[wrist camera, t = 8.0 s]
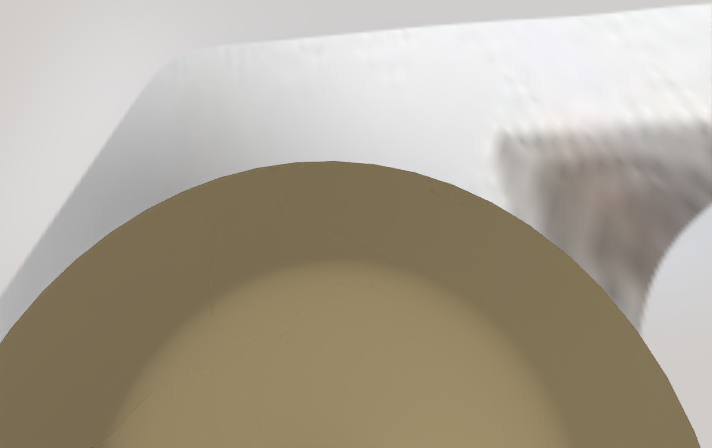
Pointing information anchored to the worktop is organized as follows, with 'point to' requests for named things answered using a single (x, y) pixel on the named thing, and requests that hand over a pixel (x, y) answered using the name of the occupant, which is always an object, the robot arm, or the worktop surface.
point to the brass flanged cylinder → (330, 328)
